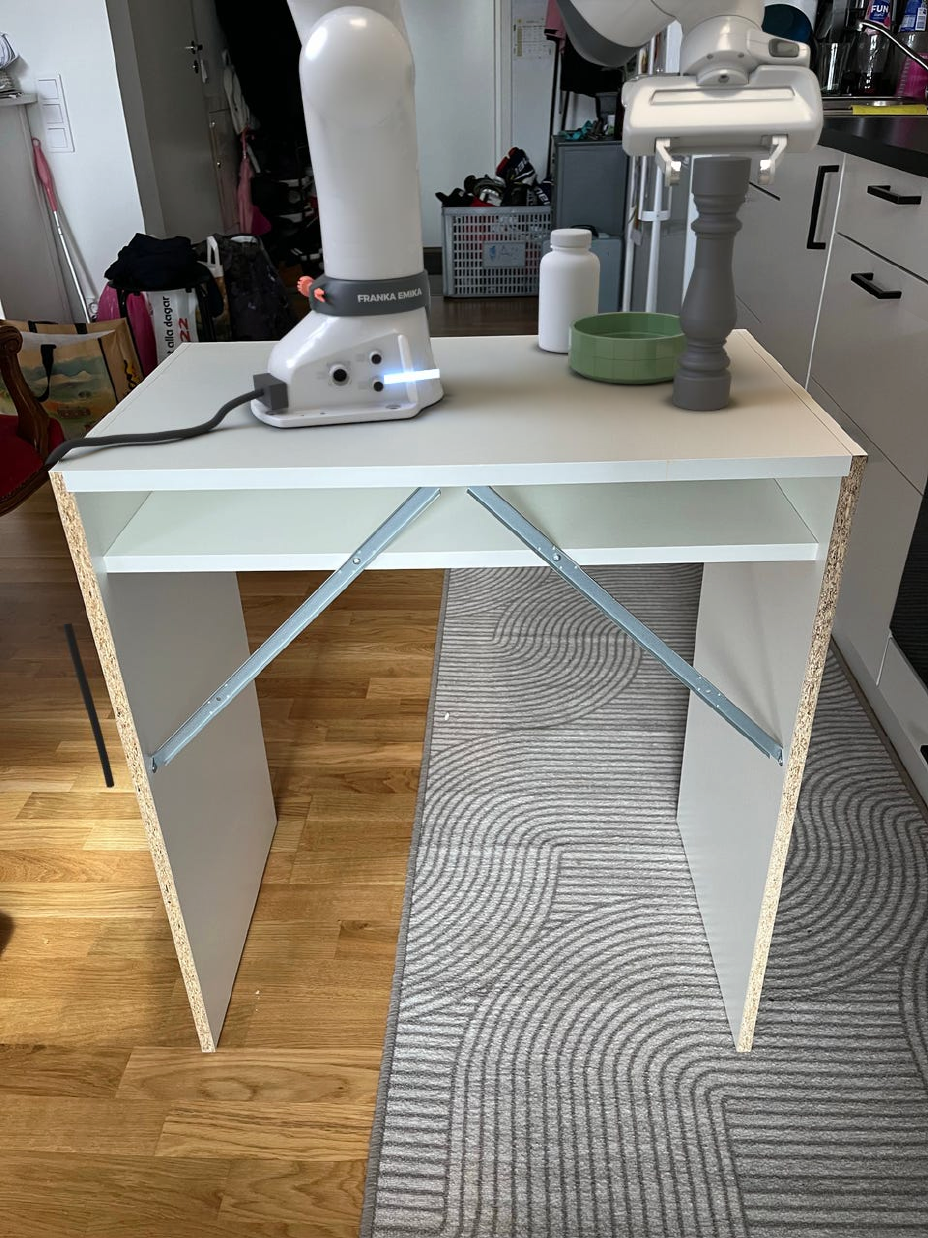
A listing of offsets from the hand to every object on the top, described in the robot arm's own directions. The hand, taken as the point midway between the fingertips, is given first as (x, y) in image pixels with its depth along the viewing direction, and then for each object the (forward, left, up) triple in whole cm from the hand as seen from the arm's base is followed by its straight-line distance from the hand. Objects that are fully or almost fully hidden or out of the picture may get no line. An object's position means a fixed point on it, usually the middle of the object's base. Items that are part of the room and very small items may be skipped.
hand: (719, 181), depth 100 cm
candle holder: (-1, -1, -23) cm, 23 cm away
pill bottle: (-3, +29, -23) cm, 37 cm away
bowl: (-1, +15, -23) cm, 27 cm away
